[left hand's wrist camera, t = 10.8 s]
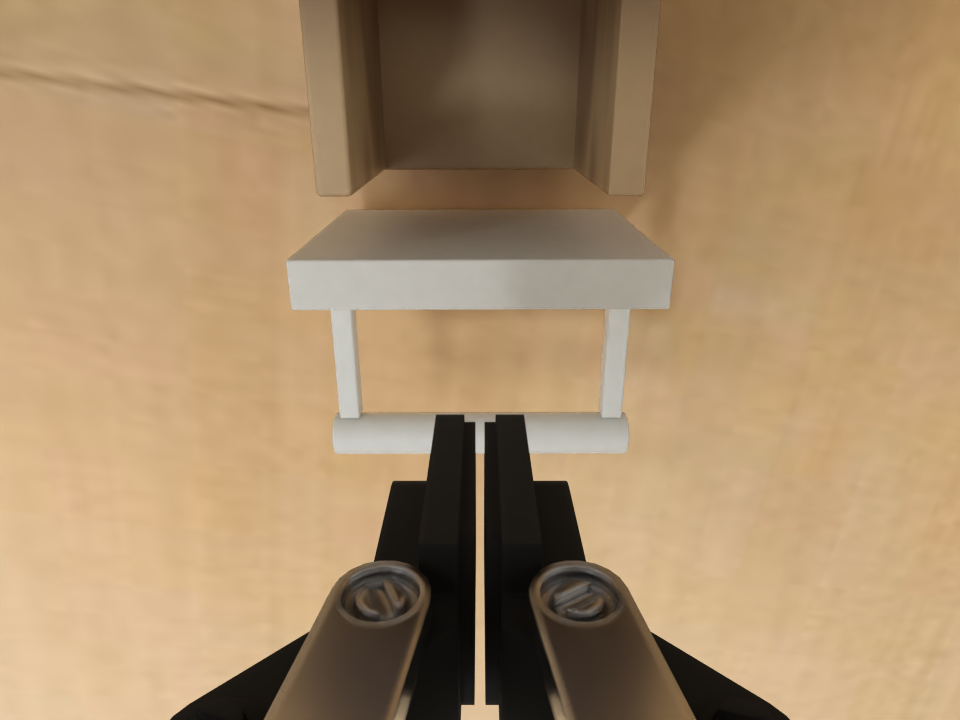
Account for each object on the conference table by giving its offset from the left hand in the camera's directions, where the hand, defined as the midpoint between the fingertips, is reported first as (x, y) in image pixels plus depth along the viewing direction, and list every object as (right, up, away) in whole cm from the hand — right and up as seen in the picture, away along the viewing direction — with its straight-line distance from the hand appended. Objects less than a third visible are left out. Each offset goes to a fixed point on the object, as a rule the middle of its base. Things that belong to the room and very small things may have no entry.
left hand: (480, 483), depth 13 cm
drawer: (0, +9, +8) cm, 12 cm away
